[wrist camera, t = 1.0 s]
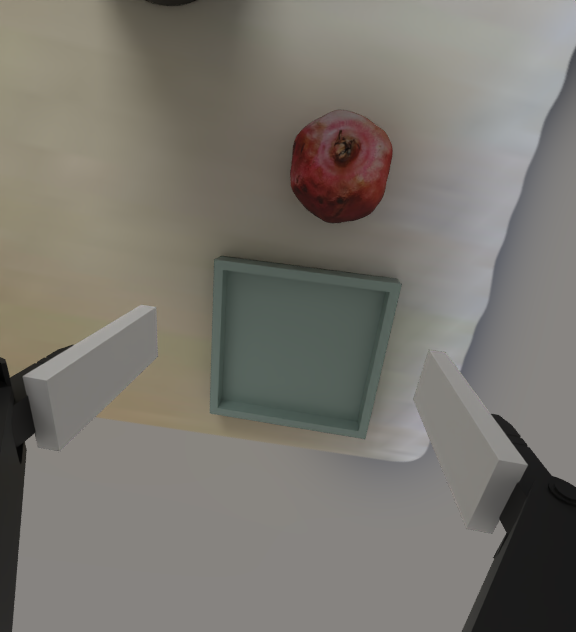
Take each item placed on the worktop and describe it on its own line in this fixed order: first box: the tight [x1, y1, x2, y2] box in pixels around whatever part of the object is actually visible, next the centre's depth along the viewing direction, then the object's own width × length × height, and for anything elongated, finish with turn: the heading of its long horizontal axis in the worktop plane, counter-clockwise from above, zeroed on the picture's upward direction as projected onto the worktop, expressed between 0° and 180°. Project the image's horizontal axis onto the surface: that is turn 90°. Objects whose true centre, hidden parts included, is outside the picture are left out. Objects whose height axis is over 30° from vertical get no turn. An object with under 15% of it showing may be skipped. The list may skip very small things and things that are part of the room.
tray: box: [210, 256, 402, 439], centre depth 39 cm, size 20×20×2 cm
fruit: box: [290, 110, 393, 223], centre depth 28 cm, size 9×10×10 cm
